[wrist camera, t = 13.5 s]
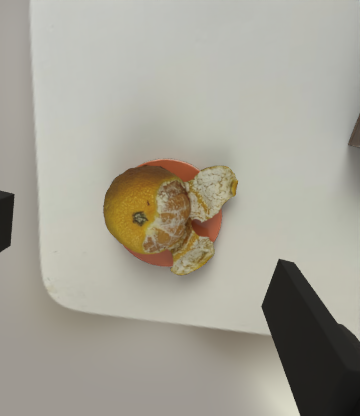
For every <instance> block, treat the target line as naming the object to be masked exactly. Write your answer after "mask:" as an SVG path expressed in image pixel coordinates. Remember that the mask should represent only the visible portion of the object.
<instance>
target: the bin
mask: <svg viewBox="0 0 360 416" xmlns="http://www.w3.org/2000/svg"><path fill="white" fill-rule="evenodd" d="M348 145H351V146H355V147H359V148H360V115H359V118H358V120H357V123H356V125H355V128H354V130H353V133H352V135H351V138H350V141H349V143H348Z"/></svg>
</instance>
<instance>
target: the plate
mask: <svg viewBox="0 0 360 416" xmlns="http://www.w3.org/2000/svg"><path fill="white" fill-rule="evenodd" d="M143 165H150V166H161V167H163V168H165V169H166V170H168V171H170V172H171V173H174V174H175V175H176V176H178V177H179V178H180V179H182V181H183V182H187V181H190V180H192V179H194V178H195V175H197V174H198V173H199V172H200V171H201V170H199V169H198V168H196V167H195V166H193V165H191V164H189V163H187V162H184V161H181V160H176V159H167V158H163V159H155V160H151V161H148V162H145V163H143V164H141V165H139V166H137V167H140V166H143ZM221 221H222V208H221V209H220V211H219V213H217V214H215V215H214V216H213V217H212V218H210V219H208V220H206V221H203V222H201V221H200V220H198V219H193V220H192V221H191V226H192V229H193V230H194V232H195V233H196V234H197V235H198V236H201V237H210V238H209V239H210V241H212V242H214V241H215V239H216V238H217V236H218V233H219V230H220V226H221ZM123 246H124V247H125V248H126V249H127V250H128V251H129V252H130V253H132V254H133V255H134V256H135V257H137V258H139V259H140V260H142V261H145V262H147V263H150V264H153V265H157V266H166V267H170V266H173V257H172V253H171V252H170V251H169V250H168V249H166V250H165V251H163V252H160V253H155V254H140V253H136V252H134V251H132V250H130V249H128V248H127V247H126V246H125V245H123Z"/></svg>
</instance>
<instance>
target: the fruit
mask: <svg viewBox="0 0 360 416" xmlns="http://www.w3.org/2000/svg"><path fill="white" fill-rule="evenodd" d="M237 184H238V181H237V179H236V177H235V174H234V173H233V172H232V170H231V169H230V168H229V167H226V166H214V167H208V168H205V169H203V170H201V171H200V172H199V173H198V174H197V175H195V178H194V179H192V180H190V181H187V182H183V181H182V179H180V178H179V177H178V176H176V175H175V174H174V173H171V172H170V171H168V170H166V169H165V168H163V167H161V166H150V165H143V166H140V167H135V168H130V169H128V170H127V171H126V172H124V173H123V174H121V175H119V176H118V177H116V178H115V179H114V180H113V182H112V184H111V185H110V188H109V189H108V190H107V192H106V195H105V201H104V206H103V207H104V210H103V211H104V218H105V224H106V226H107V228H108V230H109V232H110V233H111V234H112V235H113V236H114V237H115V238H116V239H117V240H118V241H119V242H120V243H121V244H123V245H125V246H126V247H127V248H128V249H130V250H132V251H134V252H136V253H140V254H155V253H160V252H163V251H165V250H166V249H168V250H169V251H170V252H171V253H172V257H173V267H172V268H171V272H173V273H174V274H177V275H186V274H188V273H190V272H192V271H195V270H196V269H199V268H200V267H201V266H203V265H204V264H206V263H207V261H208V260H209V259H210V258H211V257H212V256H213V255H214V252H215V249H214V247H213V243H214V242H212V241H210V239H209V238H210V237H201V236H198V235H197V234H196V233H195V232H194V230H193V229H192V226H191V221H192V220H193V219H198V220H200V221H201V222H203V221H206V220H208V219H210V218H212V217H213V216H214V215H215V214H217V213H219V211H220V209H221V207H222V206H223V204H224V203H225V202H226V201H228V200H229V199H230V198H231V197H234V196H235V195H236V188H237Z"/></svg>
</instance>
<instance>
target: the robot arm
mask: <svg viewBox="0 0 360 416" xmlns="http://www.w3.org/2000/svg"><path fill="white" fill-rule="evenodd" d="M13 206H14V194H12V193H8V192H4V191H0V252H1V251H3V250H4V249H6V248H8V247H9V246H10V244H11V232H12V219H13ZM261 307H262V310H263V313H264V315H265V318H266V321H267V324H268V327H269V329H270V332H271V335H272V338H273V340H274V343H275V346H276V349H277V351H278V354H279V357H280V360H281V363H282V366H283V368H284V371H285V374H286V377H287V379H288V382H289V385H290V387H291V391H292V393H293V396H294V399H295V402H296V405H297V407H298V410H299V413H300V416H360V341H359V340H358V339H357V338H356V336H355V335H354V334H353V333H352V332H350V331H349V330H348V329H347V328H346V327H345V326H344V325H342V324H338V323H337V322H336V321H335V319H334V318H333V316H332V315H331V314H330V312H329V311H328V309H327V308H326V307H325V305H324V304H323V302H322V301H321V300H320V298H319V297H318V295H317V294H316V292H315V291H314V290H313V288H312V287H311V285H310V284H309V283H308V281H307V280H306V278H305V277H304V276H303V274H302V273H301V271H300V270H299V269H298V267H297V266H296V264H295V263H294V262H290V261H286V260H282V259H279V260H278V263H277V266H276V268H275V271H274V274H273V276H272V279H271V282H270V284H269V287H268V290H267V293H266V295H265V298H264V301H263V303H262V306H261Z"/></svg>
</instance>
